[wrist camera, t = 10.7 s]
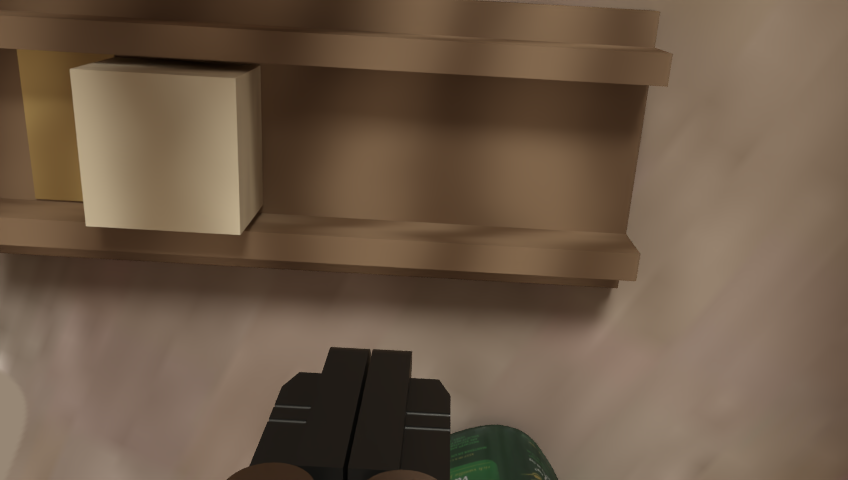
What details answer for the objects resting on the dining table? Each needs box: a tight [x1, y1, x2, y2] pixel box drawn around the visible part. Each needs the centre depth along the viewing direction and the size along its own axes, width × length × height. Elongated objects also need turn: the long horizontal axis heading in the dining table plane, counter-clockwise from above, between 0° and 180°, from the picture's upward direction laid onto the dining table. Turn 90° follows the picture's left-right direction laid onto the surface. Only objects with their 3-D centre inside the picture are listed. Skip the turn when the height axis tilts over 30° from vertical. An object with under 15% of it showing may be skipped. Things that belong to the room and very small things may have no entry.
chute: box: [0, 0, 673, 288], centre depth 31 cm, size 28×12×3 cm, turn 87°
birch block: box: [70, 57, 263, 235], centre depth 30 cm, size 6×6×4 cm
